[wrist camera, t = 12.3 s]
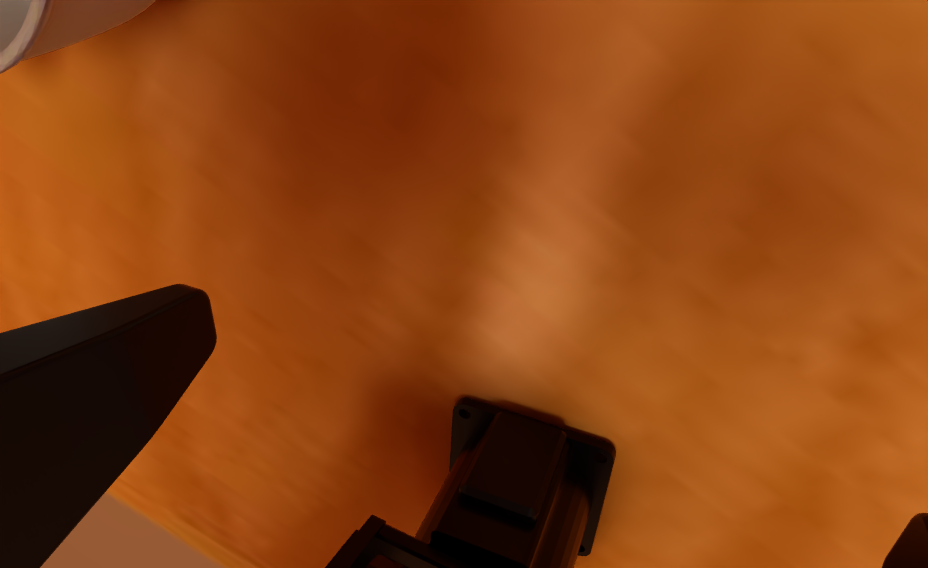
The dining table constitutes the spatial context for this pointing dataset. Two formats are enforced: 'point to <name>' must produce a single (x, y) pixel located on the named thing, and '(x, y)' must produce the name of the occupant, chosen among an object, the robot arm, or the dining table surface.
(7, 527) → the robot arm
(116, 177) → the dining table surface
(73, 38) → the teacup
